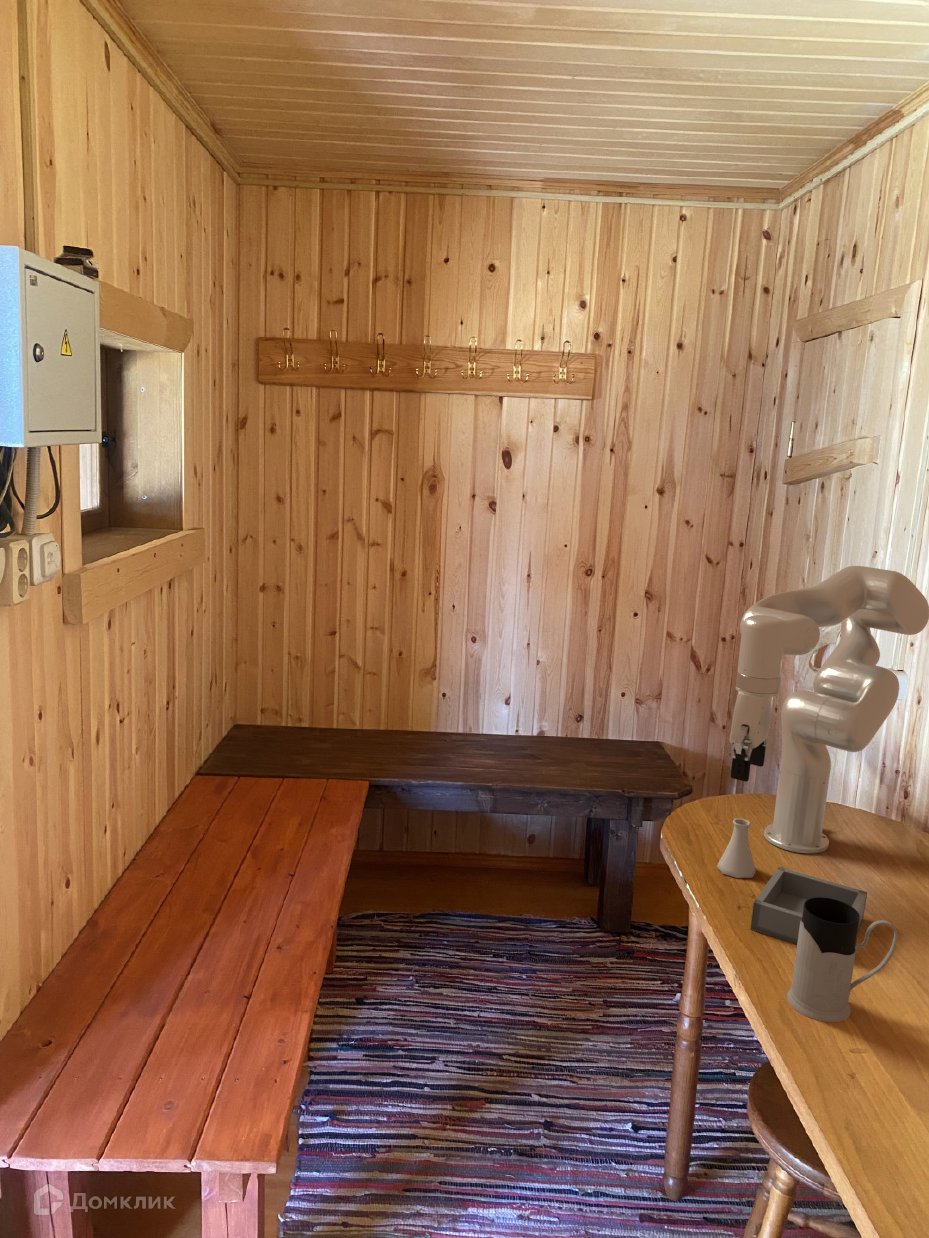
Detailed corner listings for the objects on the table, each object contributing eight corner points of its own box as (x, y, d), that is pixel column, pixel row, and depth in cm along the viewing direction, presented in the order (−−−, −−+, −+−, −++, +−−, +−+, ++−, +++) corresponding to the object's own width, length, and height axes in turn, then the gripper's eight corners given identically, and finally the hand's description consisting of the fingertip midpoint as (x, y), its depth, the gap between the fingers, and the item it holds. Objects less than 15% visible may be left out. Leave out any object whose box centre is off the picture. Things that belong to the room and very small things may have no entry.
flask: (757, 881, 171) (763, 832, 169) (717, 876, 172) (723, 827, 170) (753, 864, 178) (759, 816, 176) (715, 859, 179) (720, 811, 177)
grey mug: (779, 983, 139) (791, 893, 136) (873, 989, 139) (887, 898, 136) (798, 1020, 130) (811, 924, 127) (898, 1026, 130) (914, 930, 127)
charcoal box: (775, 891, 167) (778, 866, 166) (863, 918, 159) (867, 892, 158) (750, 929, 154) (753, 902, 153) (844, 960, 146) (848, 931, 145)
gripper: (750, 670, 176) (740, 755, 180) (722, 689, 162) (712, 780, 166) (790, 677, 172) (779, 763, 176) (765, 697, 158) (754, 790, 162)
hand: (747, 771), depth 171 cm, fingers open, 9 cm apart
